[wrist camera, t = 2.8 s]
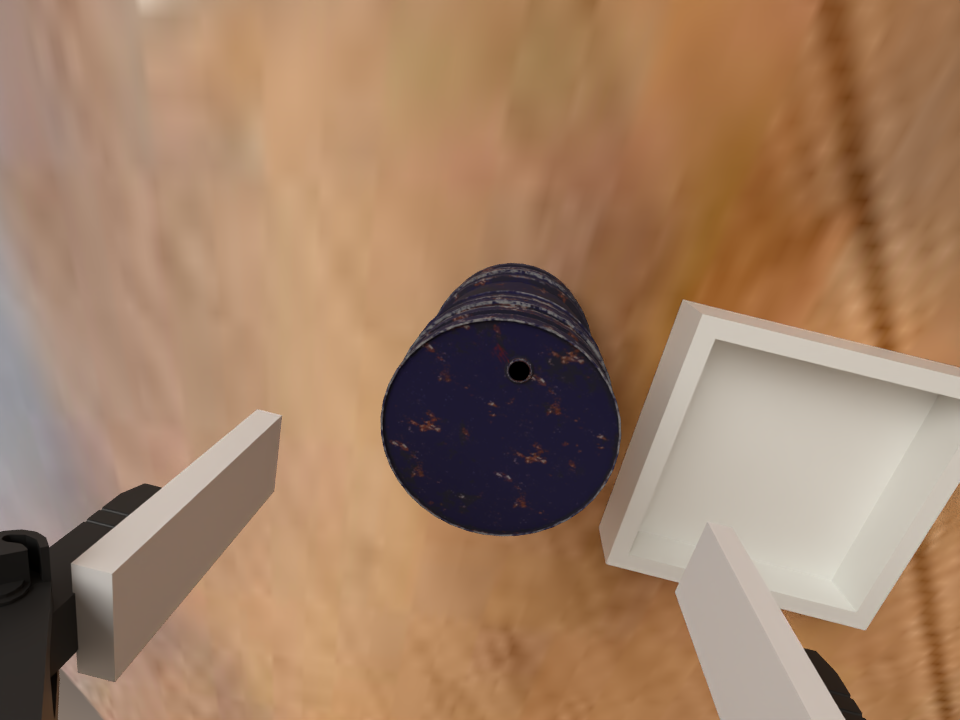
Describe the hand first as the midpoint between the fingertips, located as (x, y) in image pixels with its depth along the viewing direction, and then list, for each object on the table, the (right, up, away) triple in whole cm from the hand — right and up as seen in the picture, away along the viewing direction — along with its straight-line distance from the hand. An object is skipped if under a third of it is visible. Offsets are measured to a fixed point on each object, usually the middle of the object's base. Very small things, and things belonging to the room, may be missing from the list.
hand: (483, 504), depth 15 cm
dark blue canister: (+2, +6, +19) cm, 20 cm away
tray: (+20, -2, +20) cm, 28 cm away
